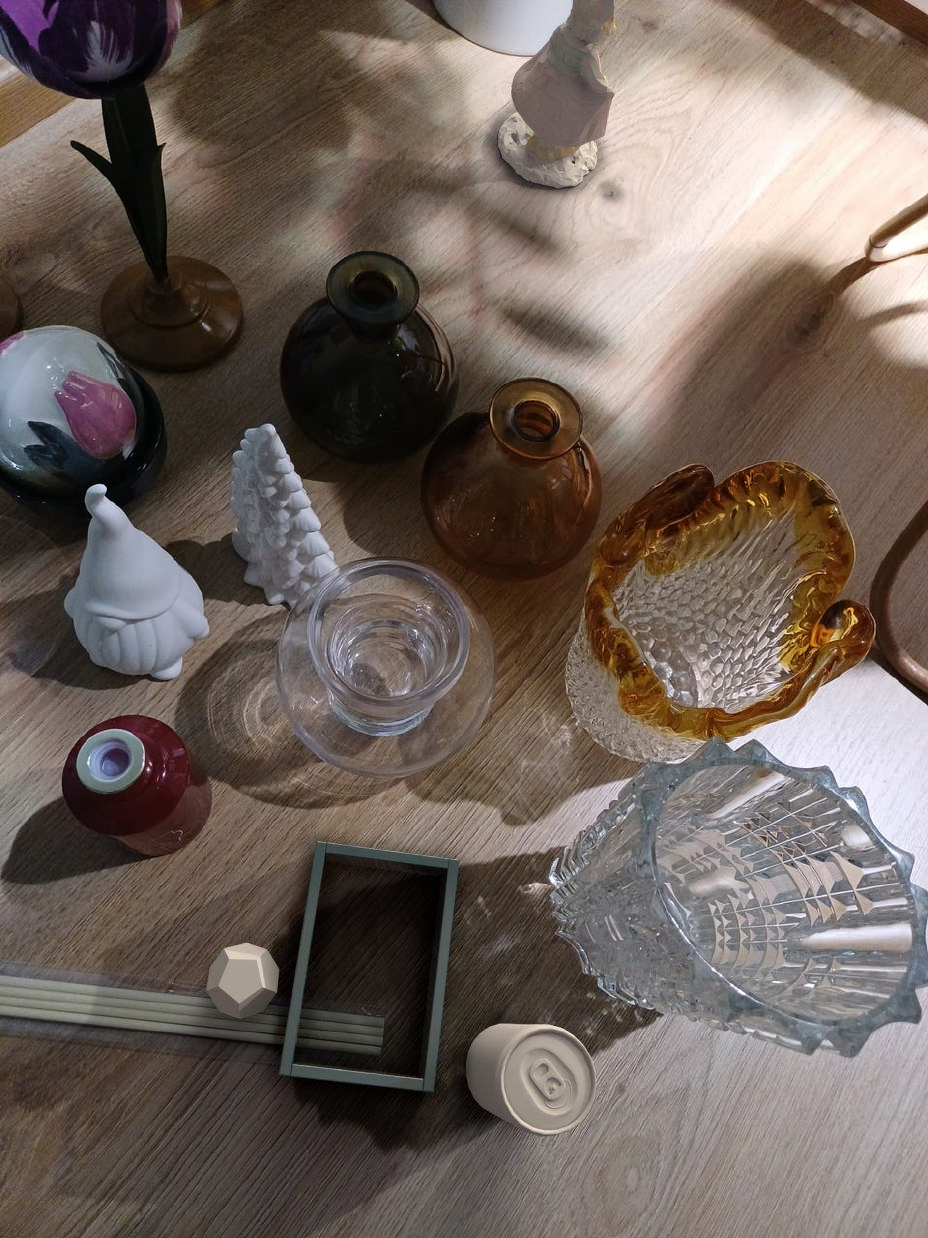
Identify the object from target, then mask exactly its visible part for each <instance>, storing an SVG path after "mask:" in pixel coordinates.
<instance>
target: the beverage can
mask: <svg viewBox="0 0 928 1238" xmlns="http://www.w3.org/2000/svg"><path fill="white" fill-rule="evenodd" d="M465 1076H466V1080H467V1081H466V1082H467V1086H468V1089H469V1091H470V1093H471V1095H472V1097H473V1099H474V1100H475V1102H476V1103H477V1104H478V1106H480V1107H481V1108H482V1109H484V1110H486V1111H487V1112H489V1113H491V1114H493V1115H494V1116H496V1117H498V1118H499V1119H501V1120H503V1121H504V1122H506V1123H508V1124H510V1125H512V1126H514V1127H516V1128H517V1129H519V1130H521V1131H523V1132H525V1133H527V1134H530V1135H534V1136H538V1137H542V1138H543V1137H557V1136H559V1135H562V1134H564V1133H568V1132H569V1131H571V1130H573V1128H575V1127H577V1126H578V1125H580V1124H581V1123H582V1122H583V1120H584V1119H585V1117H586V1116H587V1115H588V1114H589V1113H590V1110H591V1108H592V1105H593V1104H594V1101H595V1098H596V1091H597V1086H598V1085H597V1072H596V1068H595V1065H594V1062H593V1059H592V1057H591V1055H590V1053H589V1051H588V1049H586V1047H585V1046H584V1044H583V1043H582V1041H580V1040H579V1038H577V1037H576V1036H575V1035H574V1034H573V1033H571V1032H569V1031H567V1030H566V1029H564V1028H562V1027H560V1026H555V1025H552V1024H539V1023H538V1024H535V1023H534V1024H533V1023H532V1024H531V1023H530V1024H529V1023H527V1024H522V1023H520V1024H519V1023H497V1024H494V1025H491V1026H489V1027H487V1028H485V1029H484V1030H482V1031H481V1032H479V1034H478V1035H477V1036H476V1037H475V1038H474V1040H472V1042H471V1045H470V1047H469V1049H468V1051H467V1055H466V1062H465Z"/></svg>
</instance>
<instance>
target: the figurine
mask: <svg viewBox="0 0 928 1238" xmlns="http://www.w3.org/2000/svg"><path fill="white" fill-rule="evenodd" d="M616 30H617V27H616V0H572V5H571V9H570V13H569V15H568V17H567V18H566V20H565V21H563V22H562V23H560V24H559V25H558V26H557V27H556V28H555V29H554V30H553V31H552V33H551V36H550V37H549V39H548V41H547V42H545V44H544V45H543V46H542V47H541V48H540V50H539V51H537V53H535V54H534V55H533V57H531V58H529V59H527V61H525V62H524V63H522V65H521V66H520V67H519V68H518V69H517V70H516V72H515V73H514V75H513V78H512V82H511V85H510V86H511V89H510V95H511V96H510V97H511V100H512V103H513V106H514V108H515V110H516V112H513V113H512V114H511V115H509V116H508V117H507V118H506V119H505V121H504V122H503V123H502V124H501V126H500V127H499V130H498V135H497V138H498V140H497V147H498V149H499V151H500V154H501V158H502V159H503V160H504V161H505V162H506V163H507V164H509V165H510V167H512V169H513V170H514V171H515V174H516V175H519V176H520V177H522V179H524V181H525V180H526V181H527V182H532V183H534V184H539V185H544V186H547V187H554V188H555V189H561V188H566V187H567V188H569V187H576V186H578V185H579V184H580V183H582V182H583V180H584V176H585V175H588V174H589V173H590V171H589V170H591V171H593V170H595V168H596V166H597V159H598V156H597V154H598V147H597V142H596V140H598V139H601V138H603V137H605V136H606V135H605V134H606V131H607V125H608V121H609V120H608V119H609V114H610V110H611V106H612V102H613V100H614V97H615V95H616V89H615V88H614V87H610V85H609V81H608V80H609V79H608V76H606V75H604V74H603V72H602V65H601V59H600V54H599V51H598V46H599V45H602V44H603V43H605V42H606V41H607V40H608V38H610V37H611V36H612V35H613V34H614V33H615V32H616ZM573 162H574V163H573ZM610 194H611V195H613V196H614V195H615V192H614V191H613V190H612V189H611V190H610Z"/></svg>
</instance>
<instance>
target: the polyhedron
mask: <svg viewBox="0 0 928 1238" xmlns="http://www.w3.org/2000/svg"><path fill="white" fill-rule="evenodd" d="M279 976H280V968H279V967H278V965H277V963H276V962H275V960H274V958H273V957H272V955H271V954H270V952H269V950H268V949H267V948H264V947H262V946H258V945H256V944H252V943H249V942H244V943H240V944H236V945H231V946H227V947H224V948H223V949H222V950H221V952H219V954H218V956H217V957H216V959H215V960H214V961H213V963H212V964H211V965H210V967H209V970H208V977H207V983H206V990H205V992H206V993H207V995H208V996H209V998H210V999H211V1001H212V1003H213V1004H214V1005H215V1007H216V1009H217V1010H218V1011H219V1012H221V1013H223V1014H225V1015H228V1016H231V1017H234V1018H236V1019H243V1018H247V1017H250V1016H253V1015H257V1014H260V1013H263V1012H264V1011H265V1009H266V1008H267V1007H268V1006H269V1004H270V1003H271V1001H272V1000H273V999H274V997H275V996H276V994H278V987H279V985H278V984H279Z"/></svg>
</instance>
